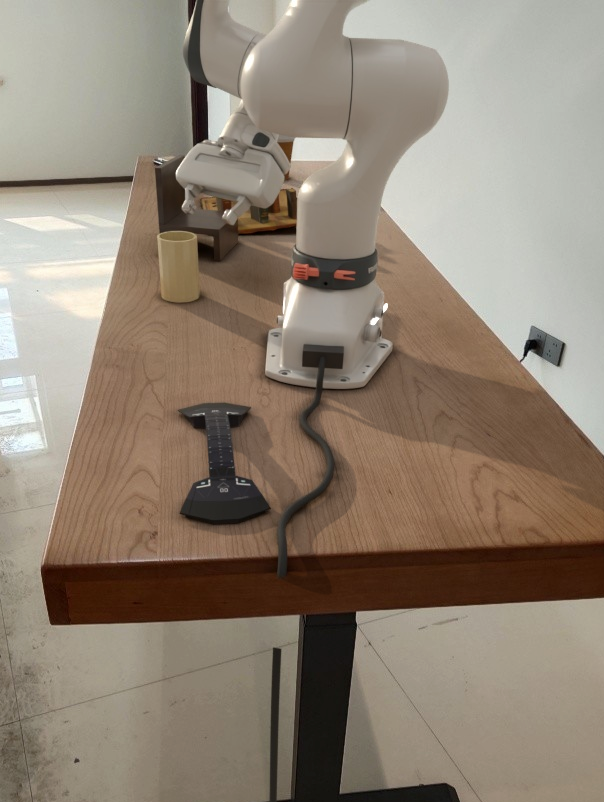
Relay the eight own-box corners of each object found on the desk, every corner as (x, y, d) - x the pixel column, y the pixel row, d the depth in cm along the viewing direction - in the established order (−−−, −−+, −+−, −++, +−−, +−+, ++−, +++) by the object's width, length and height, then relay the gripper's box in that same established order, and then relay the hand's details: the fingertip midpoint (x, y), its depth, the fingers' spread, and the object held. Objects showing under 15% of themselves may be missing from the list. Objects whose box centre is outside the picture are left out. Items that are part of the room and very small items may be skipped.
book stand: (316, 237, 159) (312, 162, 150) (207, 251, 157) (196, 176, 148) (293, 197, 187) (288, 132, 178) (201, 209, 185) (191, 143, 176)
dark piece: (250, 405, 93) (249, 381, 91) (272, 521, 73) (272, 493, 71) (177, 408, 92) (176, 383, 90) (180, 526, 72) (178, 498, 70)
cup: (192, 304, 123) (189, 243, 117) (156, 300, 123) (151, 239, 118) (204, 292, 128) (201, 232, 122) (168, 288, 129) (164, 229, 123)
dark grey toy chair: (220, 261, 142) (217, 172, 133) (160, 255, 144) (154, 167, 135) (238, 242, 154) (237, 159, 145) (183, 237, 155) (179, 154, 146)
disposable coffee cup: (301, 178, 209) (302, 131, 202) (278, 183, 203) (279, 135, 196) (276, 173, 214) (277, 127, 207) (253, 177, 208) (253, 130, 201)
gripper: (190, 125, 127) (153, 194, 126) (282, 141, 117) (242, 216, 116) (209, 151, 132) (173, 217, 131) (299, 168, 122) (260, 240, 121)
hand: (206, 217), depth 124 cm, fingers open, 8 cm apart
